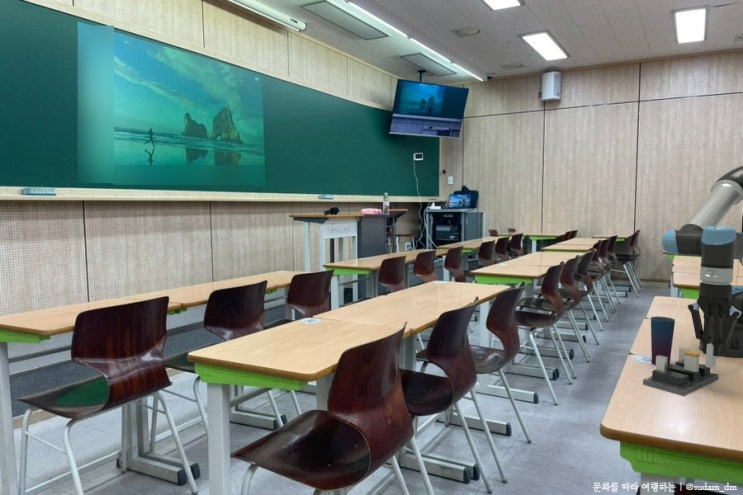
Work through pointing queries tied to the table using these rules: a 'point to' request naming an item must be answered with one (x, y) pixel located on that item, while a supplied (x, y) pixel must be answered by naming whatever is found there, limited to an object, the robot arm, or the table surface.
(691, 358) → the handle
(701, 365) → the panel
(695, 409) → the table surface
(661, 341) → the cup
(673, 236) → the robot arm
